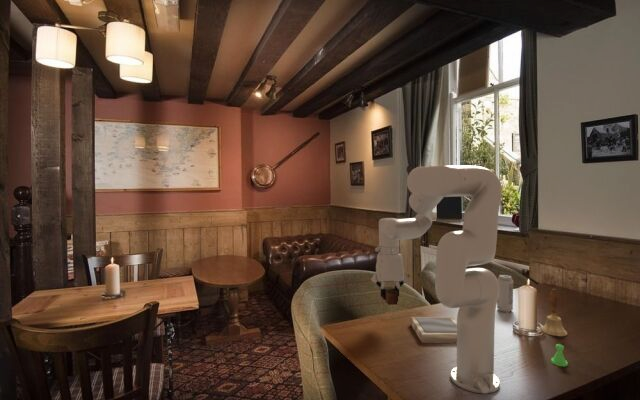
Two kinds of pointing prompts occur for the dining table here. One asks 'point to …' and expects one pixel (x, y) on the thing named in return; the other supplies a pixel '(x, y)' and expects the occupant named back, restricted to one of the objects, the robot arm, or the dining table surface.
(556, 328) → the hand bell
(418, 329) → the plinth
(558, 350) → the game piece
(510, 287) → the energy drink can
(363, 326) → the dining table surface
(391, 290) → the brick
